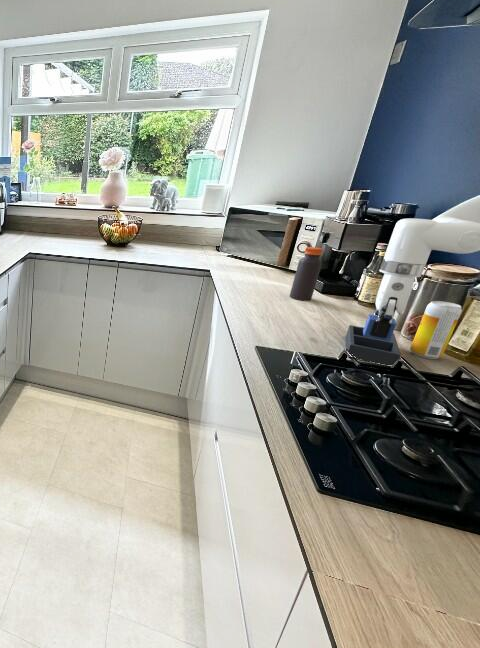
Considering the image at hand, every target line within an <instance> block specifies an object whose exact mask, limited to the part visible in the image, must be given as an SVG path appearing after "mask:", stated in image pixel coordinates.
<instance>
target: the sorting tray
mask: <svg viewBox="0 0 480 648" xmlns="http://www.w3.org/2000/svg"><path fill="white" fill-rule="evenodd" d="M363 329H364V327H362V326H357V325H352V324H350V325H349V326H348V329H347V331H346V334H345V350H346V349H348V351H349V352H350V353H351V354H353V356H355V357H356V358H358V359H362V360H363V361H362V360H361V361H362V362H367V361H368V362H367V363H371V362H375V363H374V364H376V363H380V364H385V365H393V364H394V363H395V362H396V361H397V360H398V359H399V360H400V358H401V350H400V347H399V344H398V341H397V338H396V334H395V333H394V332H393V334H392V337H391V339H390V341H385V340H380V339H375V338H369V337H364V335H363ZM358 359H357V360H358ZM370 361H371V362H370ZM380 364H379V365H380ZM385 365H384V366H385Z"/></svg>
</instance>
